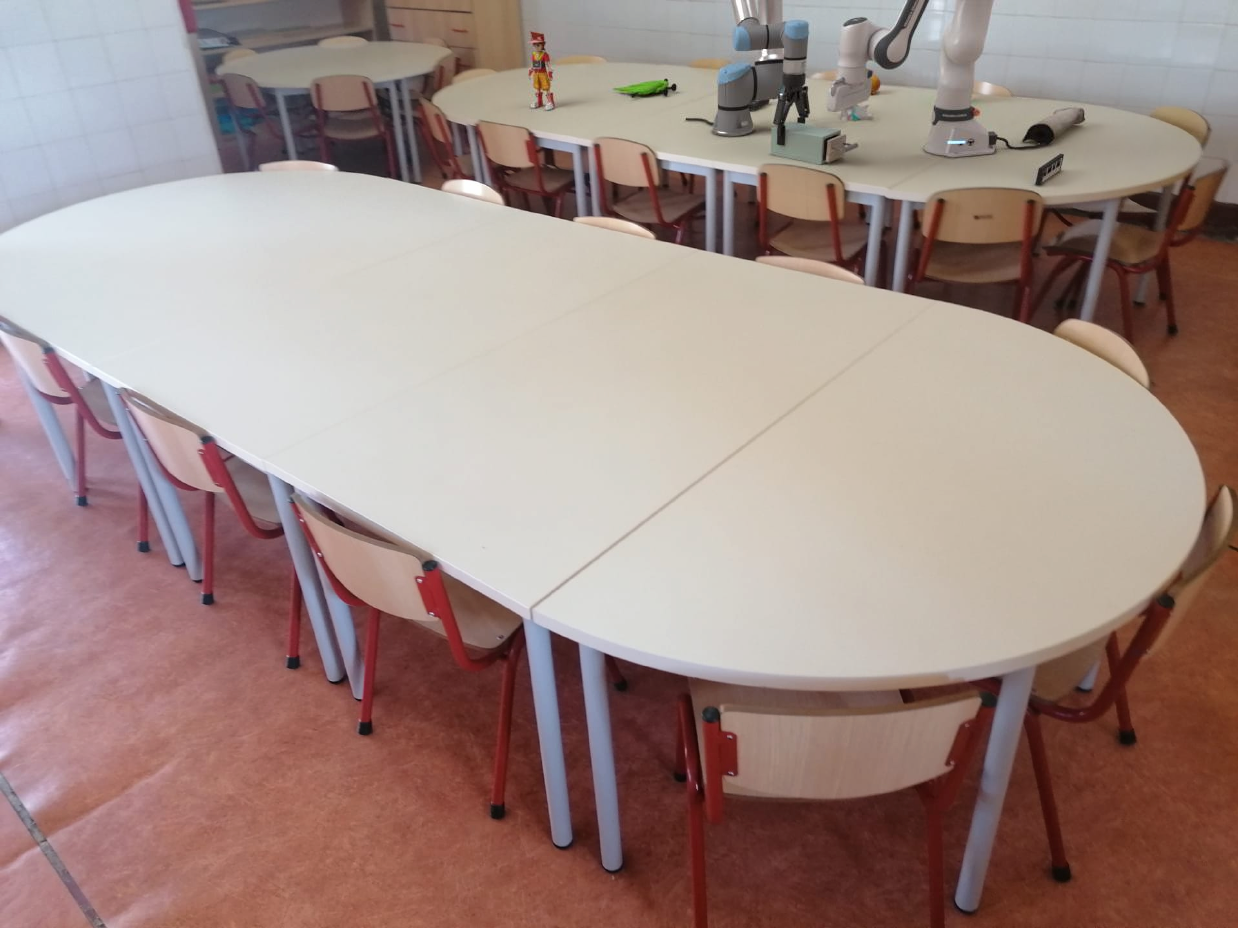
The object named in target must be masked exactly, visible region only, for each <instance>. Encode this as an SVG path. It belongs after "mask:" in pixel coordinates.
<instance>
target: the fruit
mask: <svg viewBox="0 0 1238 928" xmlns="http://www.w3.org/2000/svg"><path fill="white" fill-rule="evenodd" d="M871 79H872V86H871V94H875V93H877V92H878V91H879V90H880V88H881V85H882V83H881V80H880V78H879V77H878V76H877V75H875V74H873V77H872V78H871ZM871 94H870V95H871Z"/></svg>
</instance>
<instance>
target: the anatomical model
mask: <svg viewBox="0 0 1238 928" xmlns="http://www.w3.org/2000/svg"><path fill="white" fill-rule="evenodd" d="M869 107H870V104H869V103H866V104H864V105H861V106H859V104H857V105H855V109H854V112H853V114H852V119H853V120H854V121H860V120H861V119H871V118H873V117H874V115H873V114H872V113H870V114H869V113H868V112H867V109H868V108H869Z"/></svg>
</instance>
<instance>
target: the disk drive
mask: <svg viewBox="0 0 1238 928" xmlns="http://www.w3.org/2000/svg"><path fill="white" fill-rule="evenodd" d="M769 103H770V100H756V101H750V102H749V111H756V110H758V109H760V108H761V107H763V106H765V105H768V104H769Z"/></svg>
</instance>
